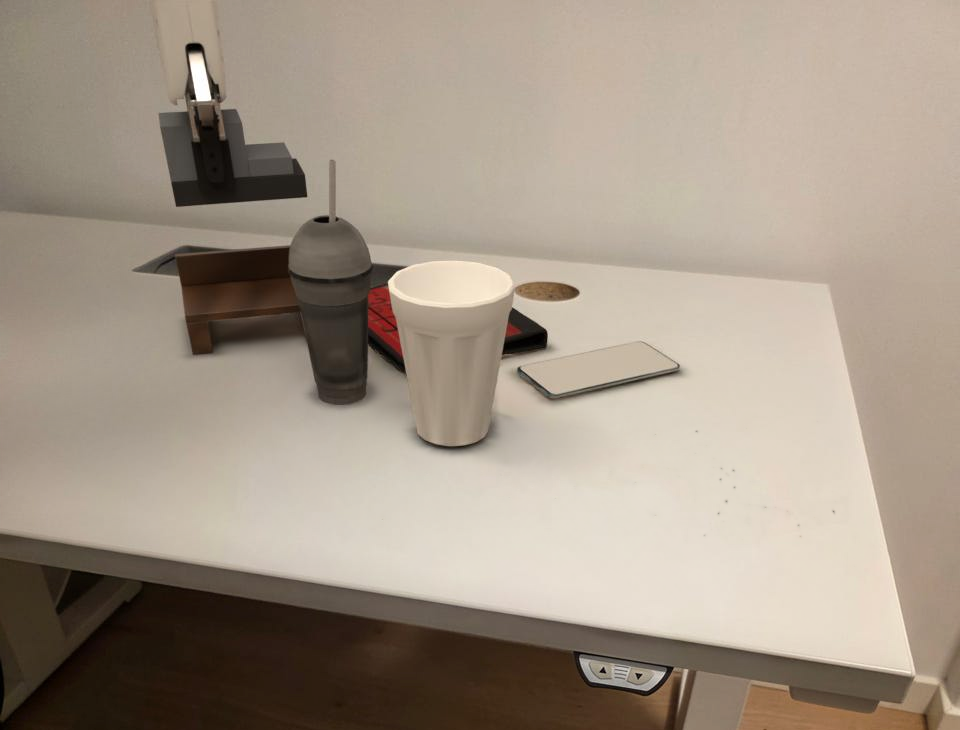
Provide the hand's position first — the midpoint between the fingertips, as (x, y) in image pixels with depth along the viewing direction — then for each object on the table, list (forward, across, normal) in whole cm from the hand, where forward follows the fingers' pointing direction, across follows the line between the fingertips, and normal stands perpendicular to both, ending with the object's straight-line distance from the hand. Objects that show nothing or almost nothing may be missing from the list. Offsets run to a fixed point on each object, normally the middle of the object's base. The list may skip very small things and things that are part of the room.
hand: (214, 177), depth 84 cm
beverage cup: (+15, +16, +8) cm, 23 cm away
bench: (+15, -1, +2) cm, 15 cm away
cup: (+15, +26, +16) cm, 34 cm away
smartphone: (+15, +18, +33) cm, 40 cm away
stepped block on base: (+1, 0, +2) cm, 3 cm away
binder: (+15, +3, +20) cm, 25 cm away
